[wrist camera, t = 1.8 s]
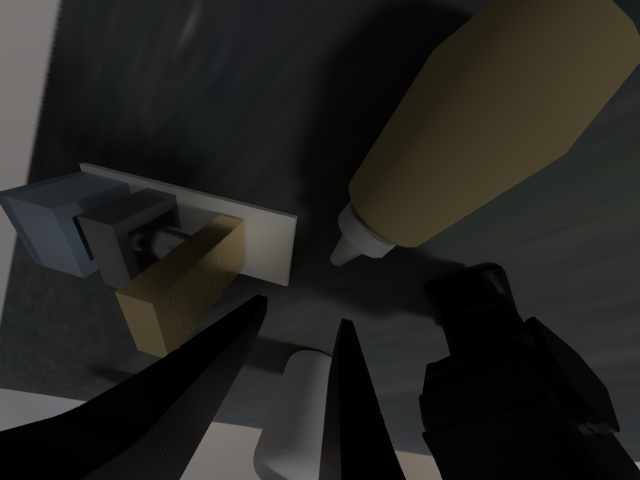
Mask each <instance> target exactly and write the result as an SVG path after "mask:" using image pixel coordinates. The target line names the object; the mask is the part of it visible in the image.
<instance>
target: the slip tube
mask: <svg viewBox="0 0 640 480" xmlns="http://www.w3.org/2000/svg"><path fill="white" fill-rule="evenodd" d="M128 234H129V238H130V241H131V244H132V247H133V251H134V252H136V253H140V254H143V255H147V256H150V257H154V258H157V259H159V260H158V261H157V262H155V263H154V264H153V265H151V266H150V267H149V268H147V269H146V270H145V271H143V272H142V273H141V274H139V275H138V276H136V277H135V278H134V279H132V280H131V281H130V282H128V283H127V284H126V285H124V286H123V287H122V288H120V289H119V290H118V291H116V292H115V293H116V296H117V298H118V301H119V303H120V306H121V308H122V311H123V313H124V316H125V318H126V321H127V323H128V326H129V328H130V331H131V333H132V336H133V338H134V341H135V344H136V346H137V349H138V350H140V351H143V352H146V353H149V354H152V355H155V356H158V357H161V358H163V357H165V356H166V355H168V354H169V353H171V352H172V351H174V350H175V349H177V348H178V349H179V347H180V346H181V345H182V344H183V342H184V341H185V340H186V339H187V337H188V336H189V335H190V334H191V332H192V331H193V330H194V329H195V327H196V326H197V325H198V324H199V322H200V321H201V320H202V319H203V317H204V316H205V315H206V314H207V312H208V311H209V310H210V309H211V307H212V306H213V305H214V304H215V302H216V301H217V300H218V299H219V297H220V296H221V295H222V294H223V292H224V291H225V290H226V289H227V287H228V286H229V285H230V284H231V282H232V281H233V280H234V279H235V277H236V276H237V275H238V274H239V272H240V271H241V270H242V269H243V267H244V220H240V219H236V218H232V217H228V216H224V215H221V214H220V215H219V216H218V217H216V218H215V219H214V220H212V221H211V222H209V223H208V224H207V225H205V226H204V227H203V228H201V229H200V230H199V231H197V232H196V233H195V232H191V231H187V230H184V229H180V228H176V227H173V226H169V225H165V224H161V223H158V222H154V221H149V222H147V223H146V224H144V225H142V226H140V227H138V228H136V229H134V230H133V231H131V232H129V233H128Z"/></svg>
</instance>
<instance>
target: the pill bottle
mask: <svg viewBox="0 0 640 480" xmlns="http://www.w3.org/2000/svg"><path fill="white" fill-rule="evenodd" d="M331 360H332V357H330V356H328V355H326V354H324V353H322V352H318V351H314V350H301V351H298V352H295V353H294V354H293V355H292V356H291V357H290V358H289V360H288V362H287V365H286V367H285V370H284V373H283V375H282V378H281V381H280V384H279V386H278V389H277V392H276V395H275V397H274V400H273V403H272V405H271V408H270V411H269V414H268V416H267V419H266V422H265V424H264V427H263V430H262V433H261V435H260V438H259V441H258V444H257V446H256V449H255V452H254V461H253V462H254V468H255V471H256V473H257V475H258V476H259V478H260V479H261V480H318V478H319V468H320V457H321V447H322V437H323V426H324V416H325V405H326V395H327V385H328V376H329V370H330V365H331Z"/></svg>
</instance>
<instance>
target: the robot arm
mask: <svg viewBox="0 0 640 480" xmlns="http://www.w3.org/2000/svg"><path fill="white" fill-rule="evenodd" d="M498 270H499V272H495V271H498ZM428 288H432V289H428ZM424 290H425V293H426V295H427V297H428V299H429V301H430V303H431V305H432V307H433V309H434V311H435V313H436V315H437V318H438V320H439V322H440V324H441V326H442V328H443V330H444V333H445V336H446V340H447V344H448V348H449V352H450V355H451V356H448V357H446V358H444V359H442V360H440V361H437V362H435V363H433V362H432V363H429V364H427V366H426V373H425V380H424V386H423V393H422V395H420V396H419V404H420V411H421V418H422V422H423V426H424V428H425V431H426V432H423V433H422V436H423V439H424V440H425V442H426V444H427V446H428V448H429V449H430V451H431V453H432V455H433V457H434V459H435V462H436V464H437V467H438V469H439V471H440V474H441V477H442V480H640V470H639V468H638V467H637V466H636V464H635V463H634V461H633V460H632V459H631V457H630V456H629V455H628V453H627V452H626V451H625V449H624V448H623V447H622V445H621V444H620V443H619V441H618V440H617V439H616V437H615V436H614V435H613V433H616V432H620V428H619V424H618V421H617V418H616V415H615V412H614V409H613V405H612V402H611V399H610V396H609V393H608V390H607V388H606V387H605V385H604V384H603V383H602V382H601V380H600V379H599V378H598V377H597V376H596V374H595V373H594V372H593V371H592V370H591V368H590V367H589V366H588V365H587V364H586V362H585V361H584V360H583V359H582V358H581V356H580V355H579V354H578V353H577V352H576V351H575V350H573V349H572V348H571V347H570V346H569V345H567V344H566V343H565V342H564V341H563V340H561V339H560V338H559V337H558V336H557V335H556V334H554V333H553V332H552V331H551V330H550V329H548V328H547V327H546V326H545V325H544V324H542V323H541V322H540V321H539V320H538V319H536V318H535V317H534V316H533V317H531V318H529V319H527V320H526V322H523V320H522V318H521V317H520V315H519V314H518V312H517V309H516V305H515V302H514V299H513V296H512V293H511V289H510V286H509V283H508V280H507V277H506V273H505V271H504V269H503V268H502V267H501V266H499V265H495V266H491V267H487V268H484V269H480V270H476V271H472V272H468V273H465V274H461V275H457V276H453V277H449V278H446V279H442V280H438V281H434V282H430V283H427V284H425V285H424ZM267 300H268V298H267V296H264V295H260V294H257V295H255V296H254V297H252V298H251V299H249V300H248V301H246V302H245V303H243V304H242V305H240V306H239V307H237V308H236V309H235V310H233V311H232V312H230V313H229V314H227V315H226V316H224V317H223V318H221V319H220V320H218V321H217V322H215V323H214V324H212V325H211V326H209V327H208V328H206V329H205V330H203V331H202V332H200V333H199V334H197V335H196V336H195V337H193V338H192V339H190V340H189V341H187V342H186V343H184V344H183V345H181V346H180V347H179V349H178V348H177V349H175V350H174V351H172V352H171V353H169V354H168V355H166V356H165V357H163V358H162V359H160V360H158V361H157V362H155V363H154V364H152V365H151V366H149V367H147V368H146V369H144V370H142V371H140V372H139V373H137V374H135V375H134V376H132V377H130V378H128V379H127V380H125V381H123V382H121V383H120V384H118V385H116V386H114V387H113V388H111V389H109V390H107V391H105V392H104V393H102V394H100V395H98V396H97V397H95V398H93V399H91V400H90V401H88V402H86V403H84V404H82V405H80V406H78V407H76V408H74V409H72V410H70V411H67V412H65V413H63V414H60V415H57V416H54V417H51V418H48V419H44V420H41V421H37V422H34V423H30V424H26V425H22V426H19V427H15V428H11V429H8V430H4V431H0V480H180V478H181V476H182V474H183V473H184V471H185V469H186V467H187V465H188V464H189V462H190V460H191V458H192V456H193V455H194V453H195V451H196V449H197V447H198V445H199V444H200V442H201V440H202V438H203V436H204V435H205V433H206V431H207V429H208V427H209V425H210V424H211V422H212V420H213V418H214V416H215V415H216V413H217V411H218V409H219V407H220V406H221V404H222V402H223V400H224V398H225V397H226V395H227V393H228V391H229V389H230V388H231V386H232V384H233V382H234V380H235V378H236V377H237V375H238V373H239V371H240V369H241V368H242V366H243V364H244V362H245V360H246V359H247V357H248V355H249V353H250V351H251V349H252V346H253V344H254V342H255V339H256V337H257V335H258V332H259V330H260V327H261V325H262V323H263V320H264V318H265V315H266V312H267ZM380 412H381V410H380V407H379V404H378V401H377V397H376V394H375V391H374V388H373V385H372V382H371V378H370V375H369V372H368V369H367V366H366V362H365V359H364V356H363V353H362V350H361V347H360V343H359V340H358V337H357V334H356V331H355V327H354V324H353V322H352V321H351V320H348V319H344V318H343V319H342V320H341V323H340V326H339V329H338V333H337V337H336V342H335V346H334V351H333V356H332V360H331V365H330V370H329V376H328V385H327V395H326V405H325V416H324V426H323V437H322V447H321V457H320V468H319V478H318V480H406V479H405V476H404V474H403V472H402V469H401V467H400V464H399V462H398V459H397V456H396V454H395V451H394V449H393V446H392V443H391V440H390V438H389V435H388V432H387V429H386V426H385V423H384V419H383V416H382V414H381V413H380Z"/></svg>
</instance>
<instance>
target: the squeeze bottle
mask: <svg viewBox="0 0 640 480" xmlns="http://www.w3.org/2000/svg"><path fill="white" fill-rule="evenodd" d="M639 63H640V35H639V33H638V31H637V29H636V27H635V25H634V23H633V21H632V20H631V19H630V18H629V17H628V16H627V15H626V14H625V13H624V12H623V11H622V10H621V9H620V8H619V7H618V6H617V5H616V4H615V3H614V2H613V1H612V0H492V1H491V2H490V3H489V4H487V5H486V6H485V7H484V8H483V9H482V10H480V11H479V12H478V13H477V14H476V15H474V16H473V17H472V18H471V19H470V20H468V21H467V22H466V23H465V24H464V25H462V26H461V27H460V28H459V29H458V30H456V31H455V32H454V33H453V34H452V35H451V36H449V37H448V38H447V39H446V40H445V41H443V42H442V43H441V44H440V45H439V46H437V47H436V48H435V49H434V50H433V52H432V53H431V55H430V56H429V58H428V59H427V61H426V63H425V64H424V66H423V67H422V69H421V70H420V72H419V74H418V75H417V77H416V78H415V80H414V82H413V83H412V85H411V86H410V88H409V89H408V91H407V93H406V94H405V96H404V97H403V99H402V100H401V102H400V104H399V105H398V107H397V108H396V110H395V112H394V113H393V115H392V116H391V118H390V119H389V121H388V123H387V124H386V126H385V127H384V129H383V130H382V132H381V134H380V135H379V137H378V138H377V140H376V142H375V143H374V145H373V146H372V148H371V149H370V151H369V153H368V154H367V156H366V157H365V159H364V160H363V162H362V164H361V165H360V167H359V168H358V170H357V172H356V173H355V175H354V176H353V178H352V179H351V181H350V183H349V185H348V189H349V193H350V197H351V201H350V202H349V203H348V204H347V206H346V207H345V208H344V209H343V210H342V212H341V213H340V215H339V217H338V223H339V228H340V230H341V232H342V236H341V238H340V240H339V242H338V243H337V245H336V247H335V249H334V251H333V253H332V255H331V257H330V260H331V262H332V263H333V264H334V265H335V266H341V265H342V264H344V263H346V262H348V261H350V260H352V259H354V258H355V257H357V256H359V255H361V254H364V255H366V256H369V257H372V258H382V257H383V256H384V255H385V254H387V253H388V252H389V251H390V250H391V249H393V248H394V247H395V246H396V245H399V246H403V247H417V246H419V245H420V244H422V243H424V242H425V241H427V240H428V239H430V238H432V237H433V236H435V235H436V234H438V233H440V232H441V231H443V230H444V229H446V228H448V227H449V226H451V225H452V224H454V223H456V222H457V221H459V220H460V219H462V218H464V217H465V216H467V215H468V214H470V213H472V212H473V211H475V210H476V209H478V208H480V207H481V206H483V205H484V204H486V203H488V202H489V201H491V200H492V199H494V198H496V197H497V196H499V195H500V194H502V193H504V192H505V191H507V190H508V189H510V188H512V187H513V186H515V185H516V184H518V183H520V182H521V181H523V180H524V179H526V178H528V177H529V176H531V175H532V174H534V173H536V172H537V171H539V170H540V169H542V168H544V167H545V166H547V165H548V164H550V163H552V162H553V161H555V160H556V159H558V158H560V157H561V156H563V155H564V154H565V153H566V152H567V151H568V150H569V148H570V147H571V146H572V145H573V143H574V142H575V141H576V140H577V139H578V137H579V136H580V135H581V134H582V132H583V131H584V130H585V129H586V128H587V126H588V125H589V124H590V123H591V121H592V120H593V119H594V118H595V117H596V115H597V114H598V113H599V112H600V110H601V109H602V108H603V107H604V106H605V104H606V103H607V102H608V101H609V99H610V98H611V97H612V96H613V95H614V93H615V92H616V91H617V90H618V88H619V87H620V86H621V85H622V84H623V82H624V81H625V80H626V79H627V77H628V76H629V75H630V74H631V73H632V71H633V70H634V69H635V68H636V66H637V65H638V64H639Z"/></svg>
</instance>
